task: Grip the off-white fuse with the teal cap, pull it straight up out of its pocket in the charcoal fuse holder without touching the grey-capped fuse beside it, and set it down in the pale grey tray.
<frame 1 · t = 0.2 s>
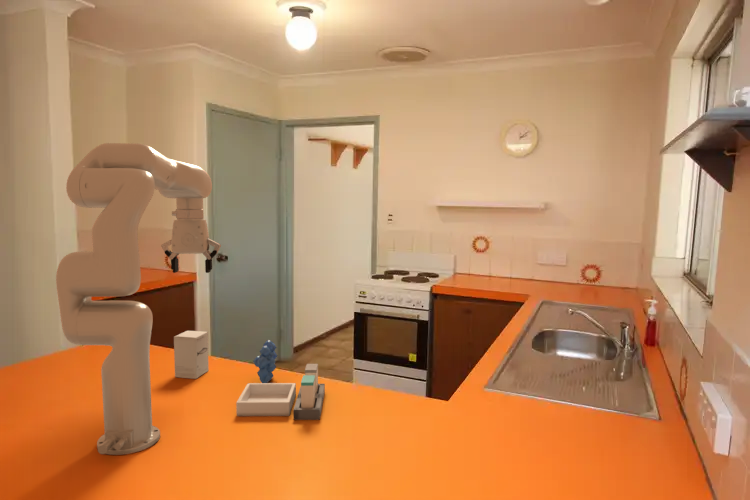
hand: (192, 272, 156), 31 cm above the worktop, tool pointing down, fingers open, 9 cm apart
grapes: (264, 381, 152), on the worktop
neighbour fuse: (311, 398, 140), resting in fuse holder
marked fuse: (308, 412, 131), resting in fuse holder
supplement box: (192, 374, 157), on the worktop
tray: (267, 405, 135), on the worktop
fuse holder: (310, 405, 135), on the worktop
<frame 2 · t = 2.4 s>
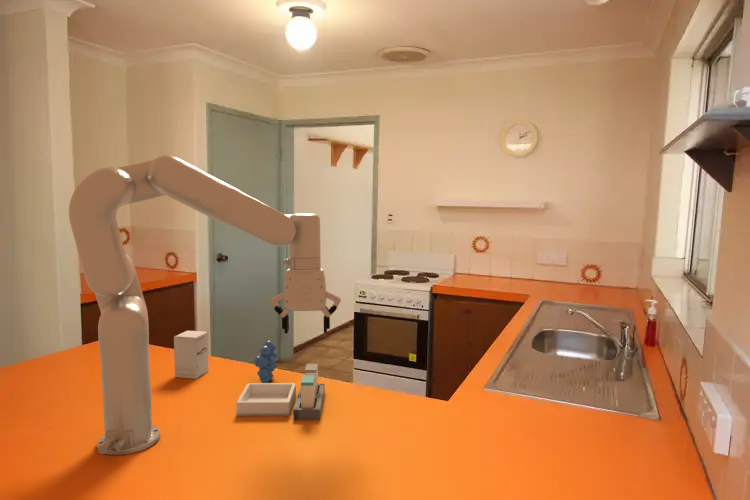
hand: (306, 331, 129), 21 cm above the worktop, tool pointing down, fingers open, 9 cm apart
nothing on the worktop moved.
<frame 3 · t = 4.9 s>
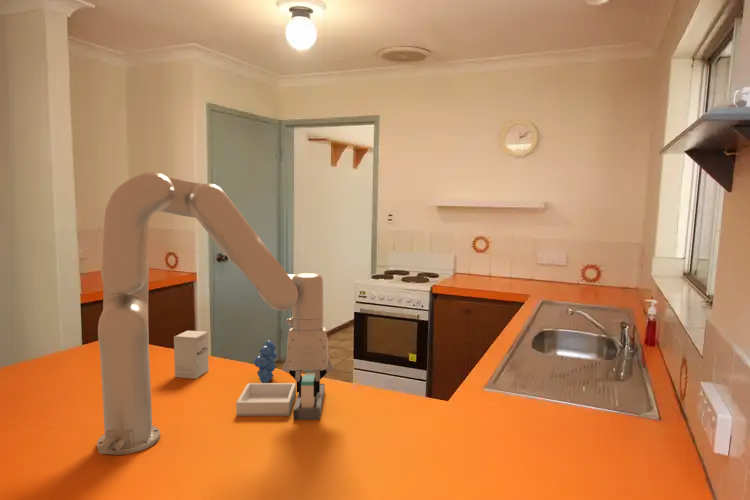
hand: (308, 394, 130), 5 cm above the worktop, tool pointing down, fingers closed on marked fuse, 3 cm apart
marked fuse: (308, 412, 131), resting in fuse holder, touching gripper
everything else where it was.
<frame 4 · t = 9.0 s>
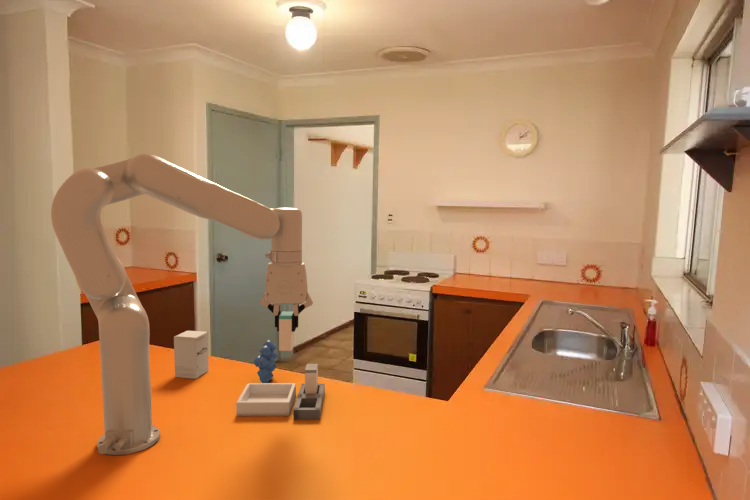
hand: (286, 329, 130), 21 cm above the worktop, tool pointing down, fingers closed on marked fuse, 3 cm apart
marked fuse: (286, 347, 131), point 16 cm above the worktop, touching gripper
everything else where it was.
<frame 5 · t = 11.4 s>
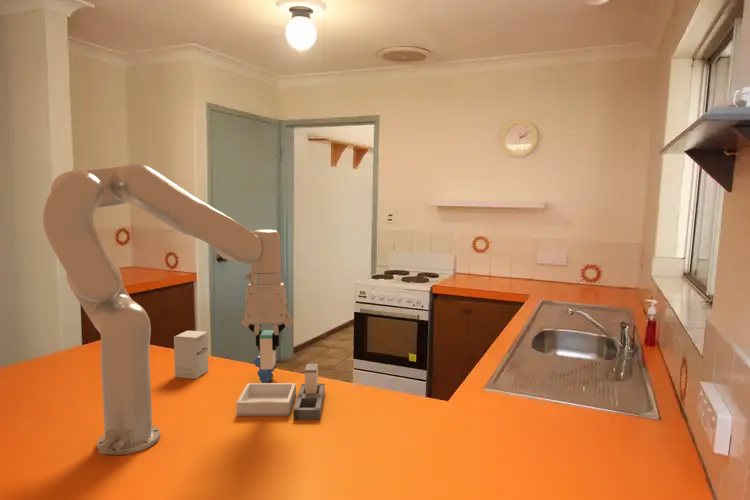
hand: (267, 348, 133), 15 cm above the worktop, tool pointing down, fingers closed on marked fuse, 3 cm apart
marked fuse: (268, 366, 134), point 10 cm above the worktop, touching gripper
everything else where it was.
when the fingers open (6 cm above the worktop, at t = 13.5 s): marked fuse drops 1 cm, resting on tray.
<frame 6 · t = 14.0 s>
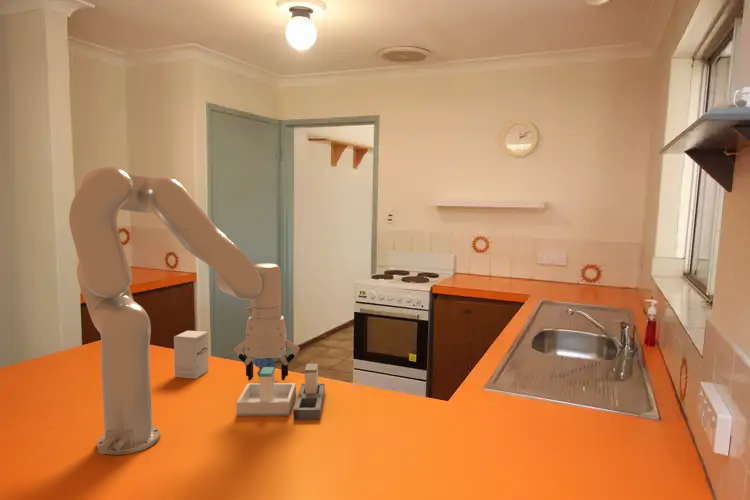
hand: (267, 378, 134), 7 cm above the worktop, tool pointing down, fingers open, 8 cm apart
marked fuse: (267, 403, 135), point 1 cm above the worktop, touching tray
everything else where it was.
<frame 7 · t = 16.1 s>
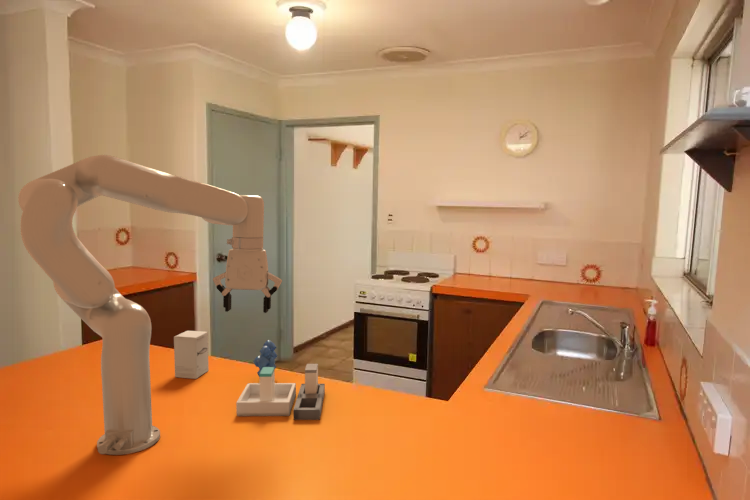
hand: (247, 311, 132), 25 cm above the worktop, tool pointing down, fingers open, 9 cm apart
nothing on the worktop moved.
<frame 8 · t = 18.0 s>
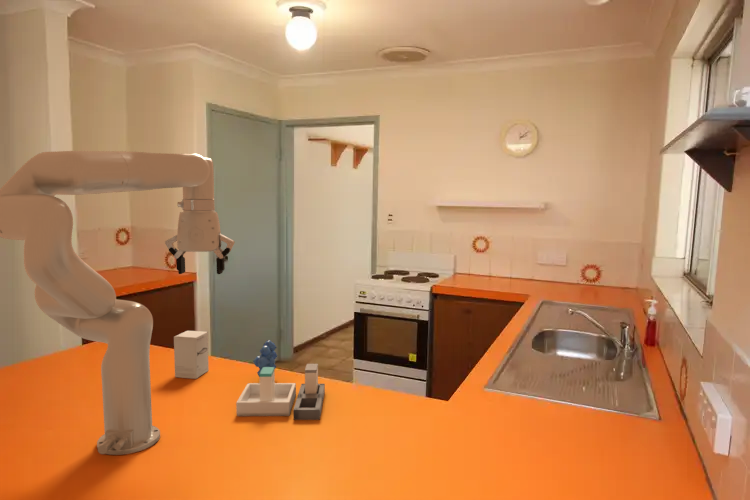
hand: (200, 273, 133), 34 cm above the worktop, tool pointing down, fingers open, 9 cm apart
nothing on the worktop moved.
at the end: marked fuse inside the target area on the tray (0.0 cm from its centre), point 0.6 cm above the tray's base; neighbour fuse moved 0.0 cm from its start; the gripper is holding nothing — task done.
